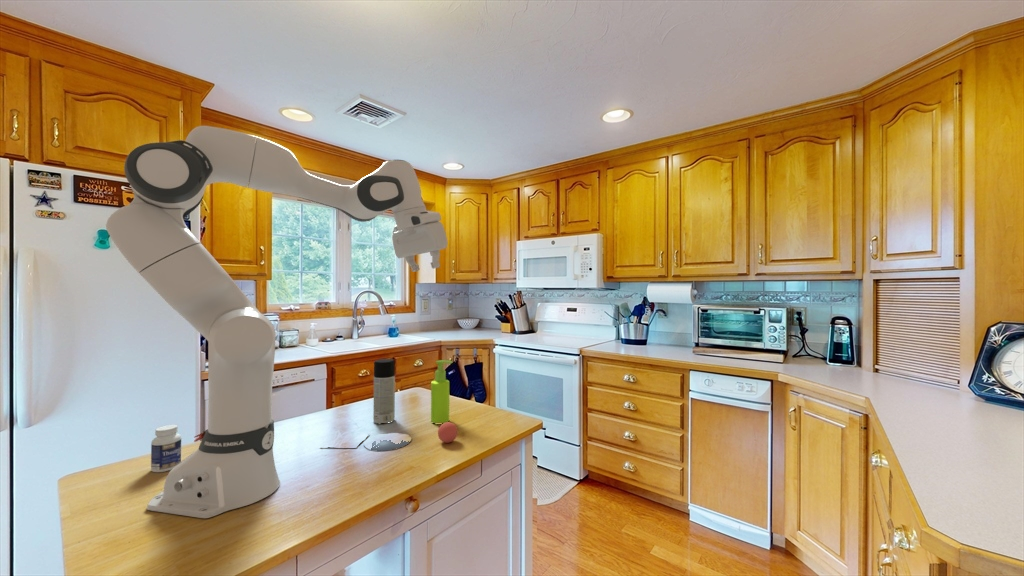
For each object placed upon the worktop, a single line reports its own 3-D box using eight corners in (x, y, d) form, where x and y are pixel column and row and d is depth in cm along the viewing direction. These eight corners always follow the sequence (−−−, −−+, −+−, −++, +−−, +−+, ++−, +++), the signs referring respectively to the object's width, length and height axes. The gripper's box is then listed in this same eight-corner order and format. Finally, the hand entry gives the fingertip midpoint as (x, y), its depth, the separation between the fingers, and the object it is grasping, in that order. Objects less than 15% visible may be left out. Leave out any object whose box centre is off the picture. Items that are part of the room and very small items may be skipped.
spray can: (397, 418, 129) (398, 358, 129) (389, 425, 122) (389, 362, 122) (378, 417, 130) (379, 358, 130) (369, 424, 123) (369, 361, 123)
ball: (436, 445, 106) (436, 425, 106) (439, 438, 112) (440, 419, 112) (455, 446, 106) (455, 426, 106) (458, 438, 112) (458, 419, 112)
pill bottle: (163, 474, 89) (163, 432, 89) (144, 472, 90) (145, 430, 90) (186, 464, 95) (187, 424, 95) (169, 462, 96) (169, 422, 96)
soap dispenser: (450, 424, 123) (450, 362, 123) (429, 424, 123) (429, 362, 123) (453, 418, 129) (454, 359, 129) (433, 418, 129) (433, 358, 129)
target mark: (355, 450, 103) (355, 450, 103) (373, 432, 116) (373, 432, 116) (404, 451, 102) (404, 450, 102) (416, 433, 115) (416, 432, 115)
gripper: (382, 229, 110) (396, 275, 112) (425, 215, 96) (439, 268, 98) (400, 225, 114) (413, 270, 117) (444, 212, 101) (457, 263, 103)
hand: (425, 269), depth 107 cm, fingers open, 8 cm apart
